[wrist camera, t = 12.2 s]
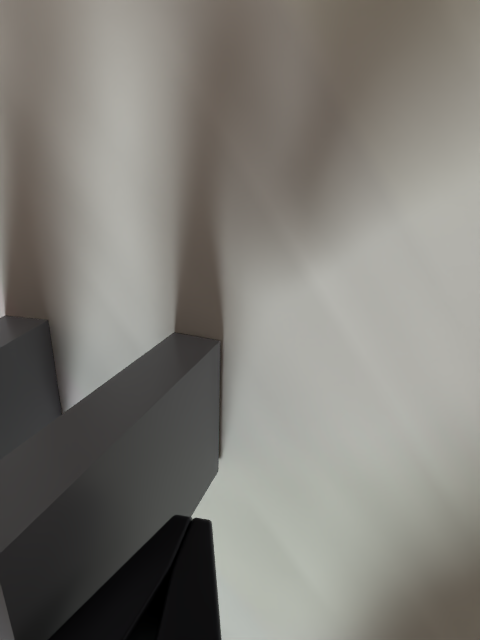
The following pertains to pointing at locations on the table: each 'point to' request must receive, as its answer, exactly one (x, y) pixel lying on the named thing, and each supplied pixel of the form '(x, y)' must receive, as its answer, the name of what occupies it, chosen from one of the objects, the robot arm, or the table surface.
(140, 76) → the table surface
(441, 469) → the table surface
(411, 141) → the table surface
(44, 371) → the domino
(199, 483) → the domino
